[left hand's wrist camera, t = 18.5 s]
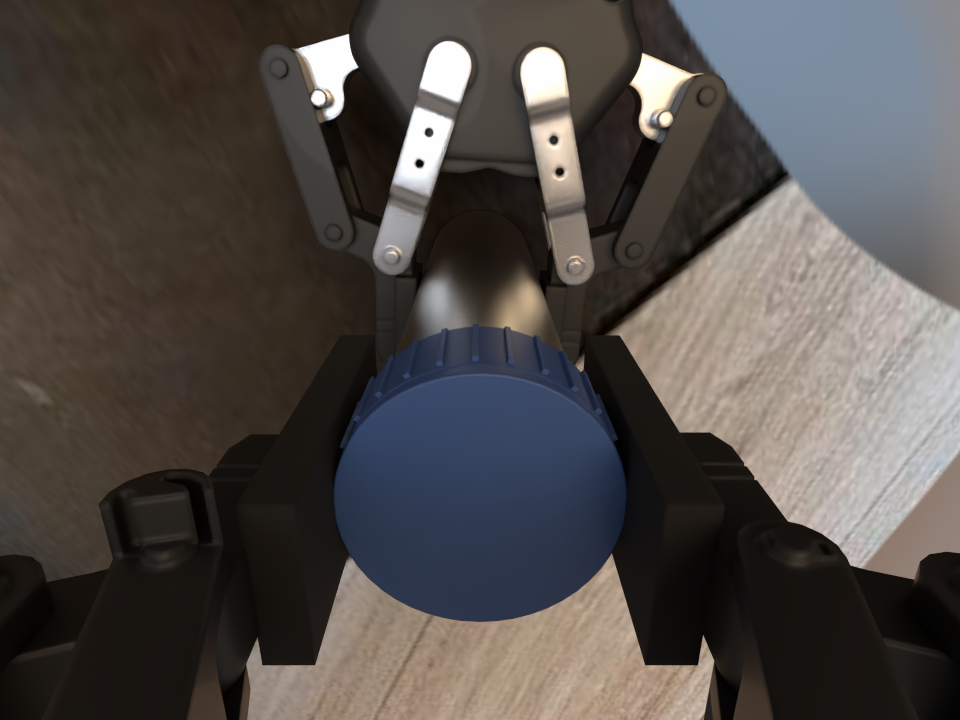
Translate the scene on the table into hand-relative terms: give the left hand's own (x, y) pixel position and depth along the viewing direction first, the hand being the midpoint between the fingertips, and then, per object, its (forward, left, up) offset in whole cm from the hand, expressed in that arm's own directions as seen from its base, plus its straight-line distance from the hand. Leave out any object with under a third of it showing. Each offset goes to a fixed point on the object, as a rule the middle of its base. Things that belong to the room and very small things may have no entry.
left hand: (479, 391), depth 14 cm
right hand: (-3, +1, -8) cm, 8 cm away
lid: (0, 0, +4) cm, 4 cm away
